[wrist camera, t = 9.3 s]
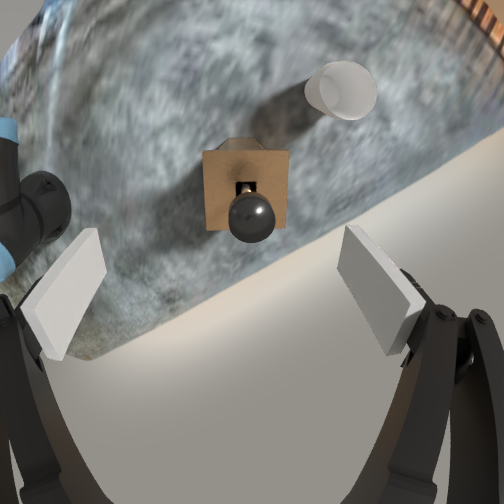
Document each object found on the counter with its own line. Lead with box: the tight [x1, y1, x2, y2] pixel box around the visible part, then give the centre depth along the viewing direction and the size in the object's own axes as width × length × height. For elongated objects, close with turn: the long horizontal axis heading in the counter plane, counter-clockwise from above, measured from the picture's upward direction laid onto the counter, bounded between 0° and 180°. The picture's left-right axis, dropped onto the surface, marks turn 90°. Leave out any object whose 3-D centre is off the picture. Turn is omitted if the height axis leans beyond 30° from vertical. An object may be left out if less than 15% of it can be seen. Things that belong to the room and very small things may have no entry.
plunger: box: [228, 181, 276, 243], centre depth 35 cm, size 8×8×20 cm
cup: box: [304, 61, 377, 120], centre depth 37 cm, size 9×9×12 cm
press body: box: [202, 138, 289, 231], centre depth 42 cm, size 10×13×15 cm
